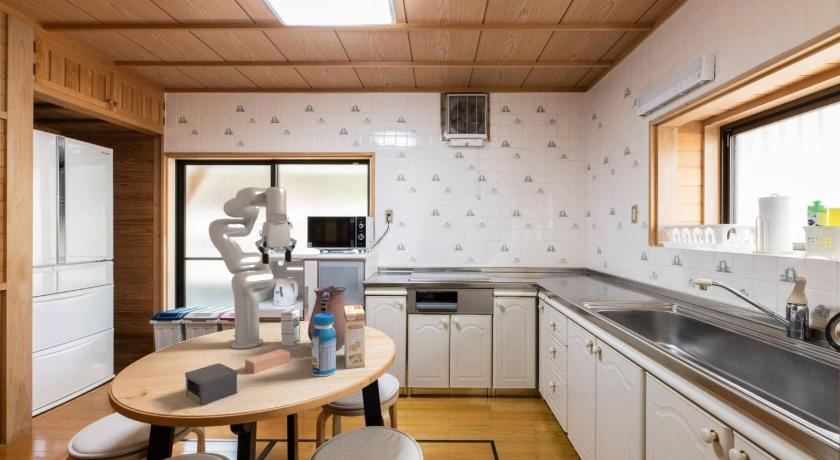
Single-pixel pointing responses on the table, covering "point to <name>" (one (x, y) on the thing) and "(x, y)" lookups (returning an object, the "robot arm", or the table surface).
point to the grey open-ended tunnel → (211, 383)
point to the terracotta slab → (267, 361)
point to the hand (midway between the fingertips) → (277, 262)
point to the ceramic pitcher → (330, 310)
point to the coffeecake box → (354, 336)
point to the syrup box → (290, 327)
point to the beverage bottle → (323, 345)
